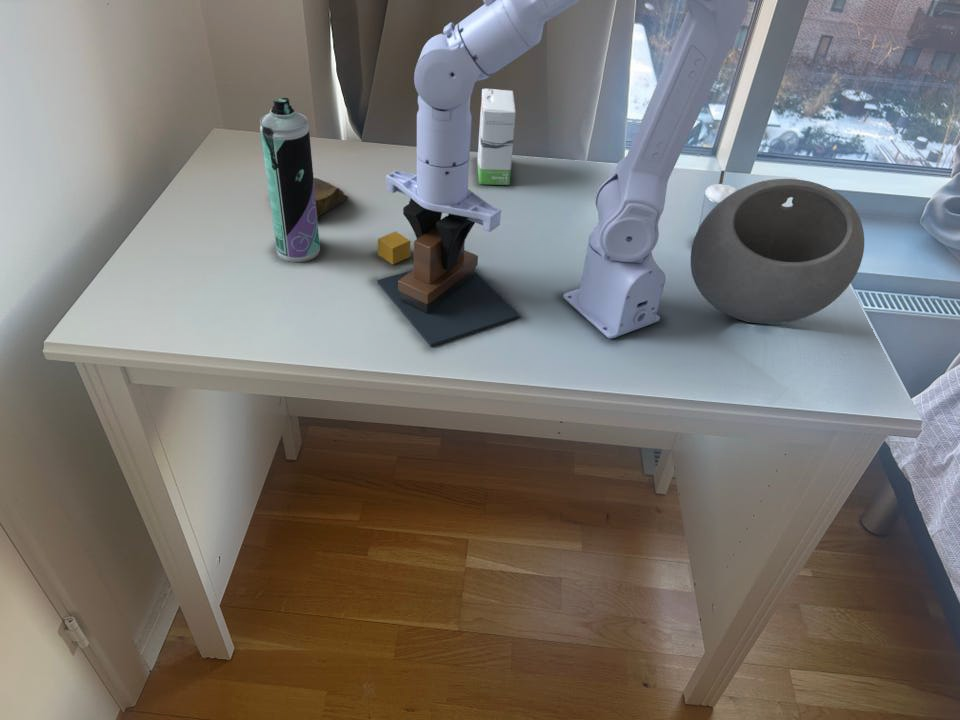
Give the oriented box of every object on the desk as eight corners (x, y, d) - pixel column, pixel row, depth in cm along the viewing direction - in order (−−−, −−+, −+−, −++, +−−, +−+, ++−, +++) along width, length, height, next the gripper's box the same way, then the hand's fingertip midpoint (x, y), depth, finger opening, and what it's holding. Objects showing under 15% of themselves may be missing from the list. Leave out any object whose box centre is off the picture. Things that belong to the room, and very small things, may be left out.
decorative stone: (262, 197, 106) (259, 175, 104) (319, 179, 111) (316, 157, 109) (301, 228, 101) (298, 205, 98) (358, 208, 106) (357, 185, 103)
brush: (448, 263, 96) (450, 208, 90) (477, 275, 94) (480, 220, 89) (398, 301, 89) (397, 244, 84) (427, 315, 87) (428, 257, 82)
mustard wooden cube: (410, 256, 97) (410, 240, 95) (392, 265, 95) (392, 248, 94) (395, 247, 99) (395, 231, 97) (378, 255, 97) (377, 238, 95)
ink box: (510, 186, 113) (517, 111, 106) (477, 185, 113) (482, 109, 105) (507, 161, 120) (513, 88, 112) (476, 159, 120) (481, 87, 112)
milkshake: (719, 236, 106) (740, 172, 99) (725, 256, 102) (747, 191, 95) (687, 233, 106) (706, 168, 99) (692, 253, 102) (711, 187, 95)
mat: (519, 317, 89) (519, 314, 88) (430, 347, 83) (430, 344, 83) (460, 259, 97) (460, 256, 97) (377, 282, 92) (377, 280, 92)
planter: (673, 324, 90) (715, 182, 77) (674, 291, 95) (713, 154, 83) (831, 351, 87) (900, 210, 75) (823, 316, 93) (886, 179, 80)
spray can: (310, 265, 94) (295, 112, 81) (270, 258, 95) (247, 105, 82) (326, 243, 98) (313, 94, 85) (286, 236, 99) (268, 87, 86)
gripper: (519, 162, 80) (508, 268, 89) (412, 125, 85) (412, 227, 94) (483, 186, 75) (475, 295, 84) (372, 145, 81) (376, 251, 90)
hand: (440, 261), depth 89 cm, fingers closed on brush, 2 cm apart
